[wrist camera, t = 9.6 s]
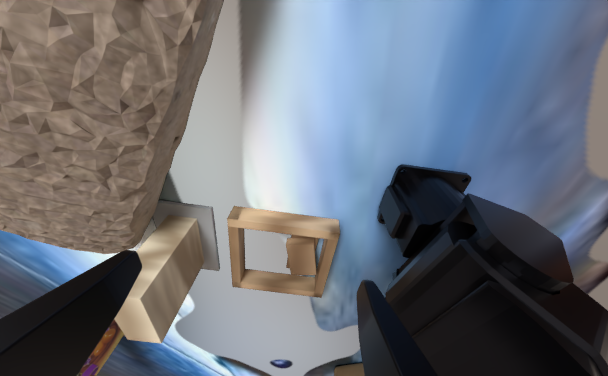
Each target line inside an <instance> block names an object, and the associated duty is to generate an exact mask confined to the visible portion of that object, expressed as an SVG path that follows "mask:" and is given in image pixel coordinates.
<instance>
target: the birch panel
mask: <svg viewBox="0 0 608 376" xmlns="http://www.w3.org/2000/svg"><path fill="white" fill-rule="evenodd" d="M136 252H137V253H138V255H139V258H140V260H141V262H142V270H141V272H140V274H139V276H138V277H137V279H136V281H135V283H134V285H133V287H132V289H131V291H130V293H129V294H128V296H127V298H126V300H125V302H124V304H123V306H122V307H121V309H120V311H119V312H118V314H117V315H116V317H115V321H116V322H117V324H118V325H119V327H120V329H121V330H122V332H123V333H124V335H125V336H126V338H127V339H128V340H136V341H144V342H153V343H162V341H163V339H164V338H165V336H166V334H167V332H168V330H169V328H170V326H171V324H172V322H173V320H174V319H175V317H176V315H177V313H178V311H179V309H180V307H181V305H182V303H183V302H184V300H185V298H186V296H187V294H188V292H189V290H190V288H191V286H192V284H193V282H194V281H195V279H196V277H197V275H198V273H199V271H200V269H201V267H202V265H203V264H204V256H203V251H202V245H201V239H200V234H199V228H198V223H197V218H189V217H181V216H173V215H168V216H167V217H166V218H165V219H164V221H163V222H162V223H161V224H160V225H159V226H158V227H157V228H156V230H155V231H154V232H153V233H152V234H151V235H150V236H149V238H148V239H147V240H146V241H145V242H144V243H143V244H142V245H141V247H140V248H139V249H138V250H137V251H136Z"/></svg>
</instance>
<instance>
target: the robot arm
mask: <svg viewBox="0 0 608 376" xmlns="http://www.w3.org/2000/svg"><path fill="white" fill-rule="evenodd" d="M403 169H405V171H403V172H401V170H403ZM464 178H465V179H464ZM462 179H464V180H462ZM470 181H471V177H470V176H469V175H468V174H467V173H461V172H454V171H447V170H440V169H432V168H425V167H418V166H411V165H400V166H398V167H397V169H396V171H395V174H394V176H393V179H392V181H391V184H390V185H389V186H388V187H387V189H386V191H385V194H384V196H383V199H382V201H381V204H380V207H379V208H380V212H379V214H378V221H379V222H380V223H382V224H386V227H387V229H388V232H389V234H390V236H391V237H392V238H394V239H396V240H397V243H398V245H399V248H400V250H401V253H402V255H403V257H406V258H409V259H408V260H407V261H406V262H405V263H404V264H403V265H402V266H401V267H400V268H399V269H397V270H396V271H395V272H394V273H393V281H392V282H391V283H390V284H389V286H388V289H387V291H386V299H385V298H384V296H383V295H382V293H381V292H380V290H379V289H378V287H377V286H376V284H375V283H374V282H373V281H370V280H362V282H361V284H360V286H359V289H358V291H357V312H358V328H359V329H358V330H359V342H360V349H361V355H362V362H363V368H364V375H365V376H608V311H607V310H606V309H605V308H604V307H603V306H601V305H600V304H599V303H598V302H596V301H595V300H594V299H593V298H591V297H590V296H589V295H588V294H586V293H585V292H584V291H583V290H581V289H580V288H579V287H577V286H576V285H575V284H574V283H573V282H574V278H573V274H572V271H571V268H570V265H569V262H568V258H567V255H566V252H565V249H564V245H563V242H562V240H561V239H560V238H558V237H557V236H556V235H554V234H553V233H551V232H550V231H548V230H547V229H546V228H544V227H543V226H541V225H540V224H538V223H537V222H535V221H534V220H533V219H531V218H530V217H528V216H526V215H525V214H522V213H520V212H517V211H514V210H512V209H509V208H506V207H504V206H501V205H498V204H496V203H493V202H490V201H488V200H485V199H482V198H480V197H477V196H474V195H472V194H469V193H468V194H467V195H465V194H464V193H463V192H464V191H465V189H466V188H467V186H468V184H469V183H470ZM382 218H383V219H382ZM141 270H142V262H141V260H140V258H139V255H138V253H137V252H136V251H130V250H124V251H122V252H120V253H118V254H116V255H115V256H113V257H111V258H109V259H107V260H106V261H104V262H102V263H100V264H98V265H97V266H95V267H93V268H91V269H89V270H88V271H86V272H84V273H82V274H80V275H79V276H77V277H75V278H73V279H71V280H70V281H68V282H66V283H64V284H62V285H61V286H59V287H57V288H55V289H53V290H52V291H50V292H48V293H46V294H44V295H43V296H41V297H39V298H37V299H35V300H34V301H32V302H30V303H28V304H26V305H25V306H23V307H21V308H19V309H17V310H16V311H14V312H12V313H10V314H9V315H7V316H5V317H3V318H1V319H0V376H77V375H78V374H79V372H80V370H81V369H82V367H83V366H84V364H85V363H86V361H87V360H88V358H89V357H90V355H91V354H92V352H93V351H94V349H95V348H96V346H97V345H98V343H99V341H100V340H101V338H102V337H103V335H104V334H105V332H106V331H107V329H108V328H109V326H110V325H111V323H112V322H113V320H114V319H115V317H116V315H117V314H118V312H119V311H120V309H121V307H122V306H123V304H124V302H125V300H126V298H127V296H128V294H129V293H130V291H131V289H132V287H133V285H134V283H135V281H136V279H137V277H138V276H139V274H140V272H141Z"/></svg>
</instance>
